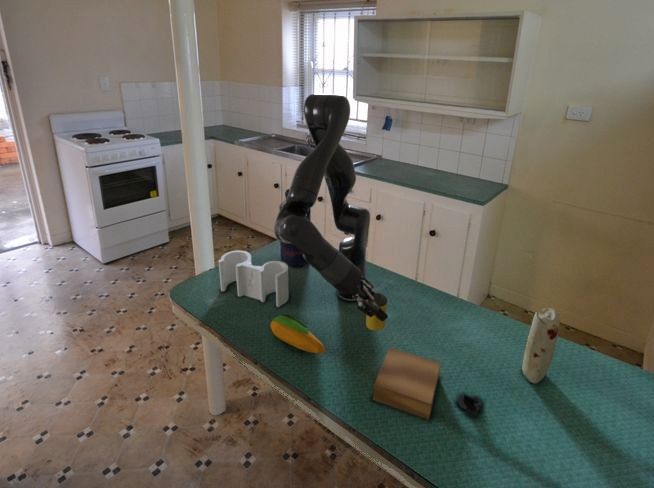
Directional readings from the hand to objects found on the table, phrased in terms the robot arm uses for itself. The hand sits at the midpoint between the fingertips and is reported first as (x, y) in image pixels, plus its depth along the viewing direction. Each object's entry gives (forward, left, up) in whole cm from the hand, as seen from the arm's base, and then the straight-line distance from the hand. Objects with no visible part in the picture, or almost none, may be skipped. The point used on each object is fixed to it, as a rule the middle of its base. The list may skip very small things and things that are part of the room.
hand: (383, 311), depth 105 cm
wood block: (+3, +9, -18) cm, 21 cm away
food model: (-21, +36, -18) cm, 46 cm away
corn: (+6, -23, -18) cm, 30 cm away
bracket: (-6, -52, -18) cm, 55 cm away
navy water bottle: (-32, -54, -18) cm, 65 cm away
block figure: (-1, +24, -18) cm, 31 cm away
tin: (+1, -2, -4) cm, 5 cm away
